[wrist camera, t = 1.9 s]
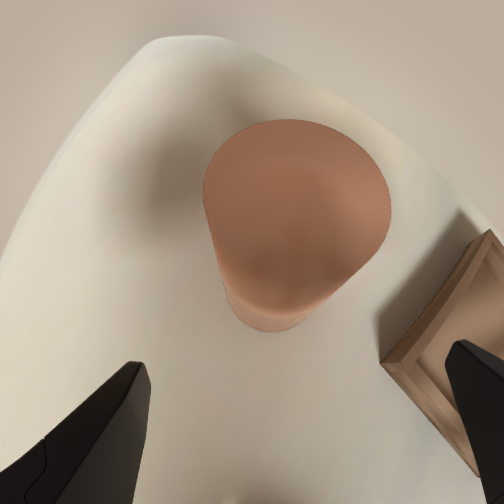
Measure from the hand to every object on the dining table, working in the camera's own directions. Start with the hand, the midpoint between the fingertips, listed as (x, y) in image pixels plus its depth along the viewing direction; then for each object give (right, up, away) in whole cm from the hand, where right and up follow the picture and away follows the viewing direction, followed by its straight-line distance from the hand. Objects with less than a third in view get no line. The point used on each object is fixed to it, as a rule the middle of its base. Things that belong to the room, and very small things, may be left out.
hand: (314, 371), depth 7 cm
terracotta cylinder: (0, +1, +13) cm, 13 cm away
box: (+18, -6, +11) cm, 21 cm away
